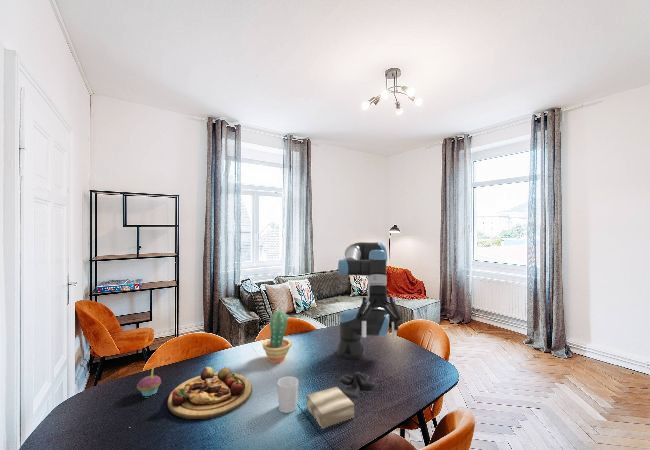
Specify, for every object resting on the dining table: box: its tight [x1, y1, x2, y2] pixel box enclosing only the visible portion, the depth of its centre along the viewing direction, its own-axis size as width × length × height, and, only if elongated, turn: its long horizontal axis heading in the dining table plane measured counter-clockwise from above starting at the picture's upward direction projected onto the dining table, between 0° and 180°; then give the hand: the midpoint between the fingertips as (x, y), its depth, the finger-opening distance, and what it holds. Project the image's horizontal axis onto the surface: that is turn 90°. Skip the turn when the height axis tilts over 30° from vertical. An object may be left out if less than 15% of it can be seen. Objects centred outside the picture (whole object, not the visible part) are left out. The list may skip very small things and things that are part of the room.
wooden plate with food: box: [167, 366, 253, 420], centre depth 118 cm, size 32×32×8 cm
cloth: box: [337, 371, 379, 399], centre depth 127 cm, size 22×19×6 cm
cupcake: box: [136, 367, 162, 397], centre depth 119 cm, size 9×8×12 cm
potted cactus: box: [262, 309, 292, 364], centre depth 152 cm, size 15×15×25 cm
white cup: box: [277, 375, 299, 414], centre depth 110 cm, size 8×8×10 cm
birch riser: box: [306, 386, 355, 430], centre depth 107 cm, size 13×13×5 cm
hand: (378, 338), depth 118 cm, fingers open, 13 cm apart
